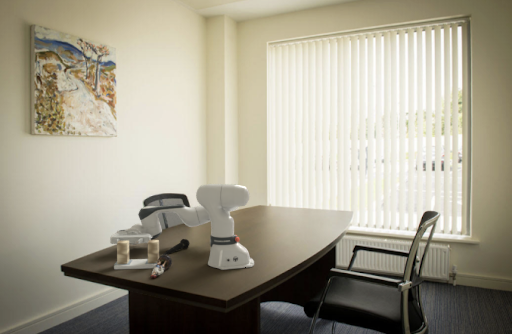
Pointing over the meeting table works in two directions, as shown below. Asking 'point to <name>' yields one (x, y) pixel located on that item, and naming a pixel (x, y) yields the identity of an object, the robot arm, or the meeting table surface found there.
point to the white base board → (135, 264)
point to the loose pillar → (122, 252)
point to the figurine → (161, 265)
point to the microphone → (178, 246)
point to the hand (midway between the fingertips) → (128, 242)
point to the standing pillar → (153, 251)
